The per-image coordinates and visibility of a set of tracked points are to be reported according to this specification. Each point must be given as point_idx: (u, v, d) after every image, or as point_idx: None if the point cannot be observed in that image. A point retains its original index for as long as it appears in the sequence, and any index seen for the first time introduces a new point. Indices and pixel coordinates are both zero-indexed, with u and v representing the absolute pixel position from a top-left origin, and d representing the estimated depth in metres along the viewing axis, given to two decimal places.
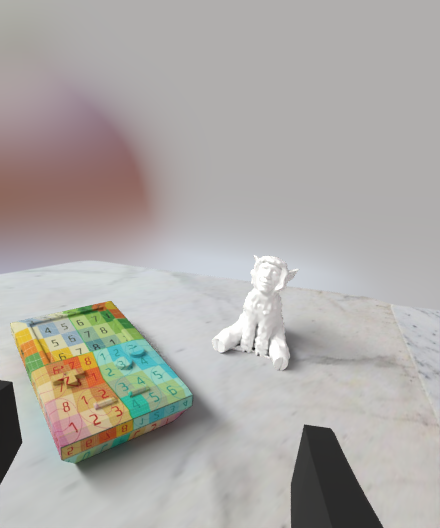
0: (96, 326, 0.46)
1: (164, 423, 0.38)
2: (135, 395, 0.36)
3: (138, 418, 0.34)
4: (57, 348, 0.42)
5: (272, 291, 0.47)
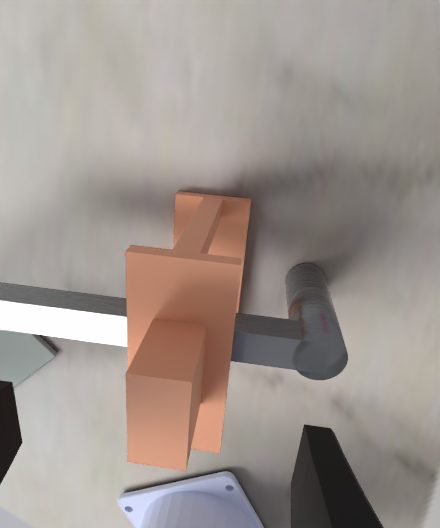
0: None
1: None
2: None
3: None
4: None
5: None
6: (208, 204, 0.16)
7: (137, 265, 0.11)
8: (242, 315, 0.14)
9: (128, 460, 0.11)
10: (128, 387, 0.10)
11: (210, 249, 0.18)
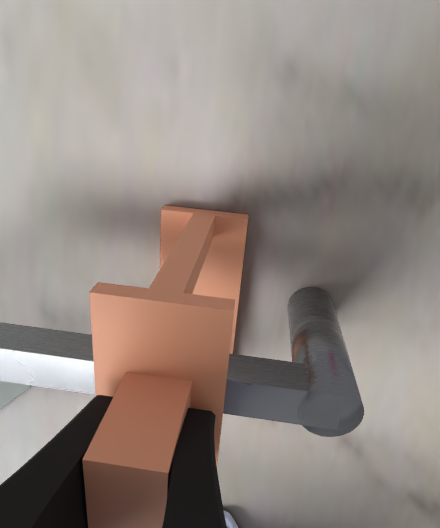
0: None
1: None
2: None
3: None
4: None
5: None
6: (198, 222, 0.14)
7: (104, 309, 0.09)
8: (237, 357, 0.12)
9: None
10: (86, 476, 0.08)
11: (202, 271, 0.16)
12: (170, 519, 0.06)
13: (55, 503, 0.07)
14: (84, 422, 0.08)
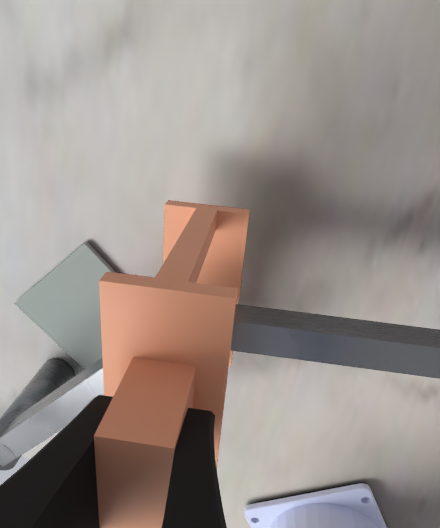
0: None
1: None
2: None
3: None
4: None
5: None
6: (201, 217, 0.14)
7: (113, 296, 0.09)
8: None
9: None
10: (97, 451, 0.08)
11: (204, 265, 0.16)
12: (169, 519, 0.06)
13: (55, 503, 0.07)
14: (84, 422, 0.08)
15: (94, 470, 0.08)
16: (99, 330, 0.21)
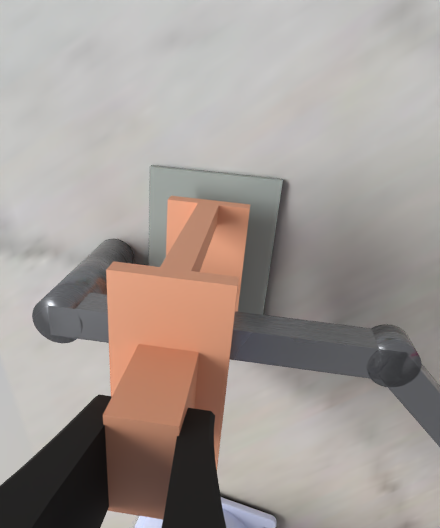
0: None
1: None
2: None
3: None
4: None
5: None
6: (203, 211, 0.15)
7: (119, 285, 0.10)
8: None
9: (108, 508, 0.10)
10: (106, 430, 0.08)
11: (205, 259, 0.17)
12: (170, 519, 0.06)
13: (56, 503, 0.07)
14: (84, 422, 0.08)
15: (94, 470, 0.08)
16: None
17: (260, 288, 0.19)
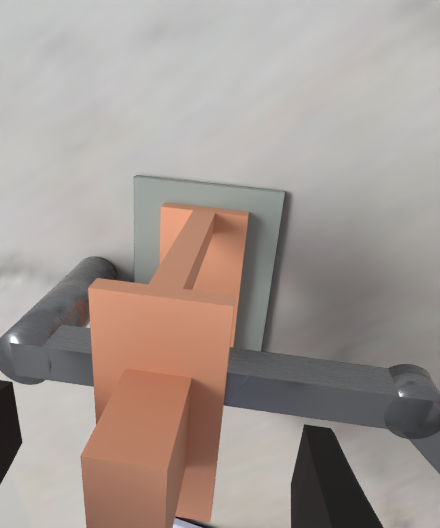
0: None
1: None
2: None
3: None
4: None
5: None
6: (198, 219, 0.14)
7: (103, 305, 0.09)
8: None
9: None
10: (84, 473, 0.07)
11: (202, 269, 0.16)
12: None
13: None
14: None
15: None
16: None
17: (259, 312, 0.17)
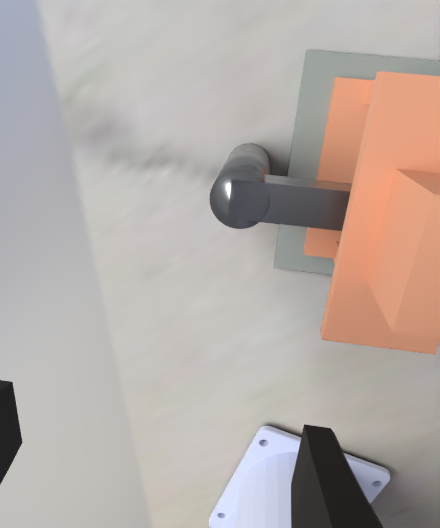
0: None
1: None
2: None
3: None
4: None
5: None
6: None
7: (392, 91, 0.09)
8: None
9: (394, 329, 0.09)
10: (431, 216, 0.08)
11: None
12: None
13: None
14: None
15: None
16: None
17: None
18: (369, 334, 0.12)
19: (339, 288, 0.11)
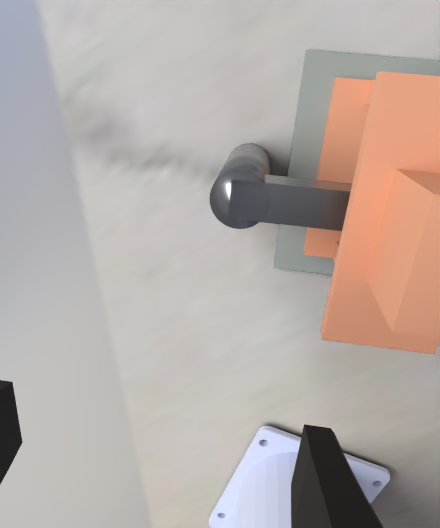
0: None
1: None
2: None
3: None
4: None
5: None
6: None
7: (392, 91, 0.09)
8: None
9: (394, 329, 0.09)
10: (431, 216, 0.08)
11: None
12: None
13: None
14: None
15: None
16: None
17: None
18: (369, 334, 0.12)
19: (339, 288, 0.11)
